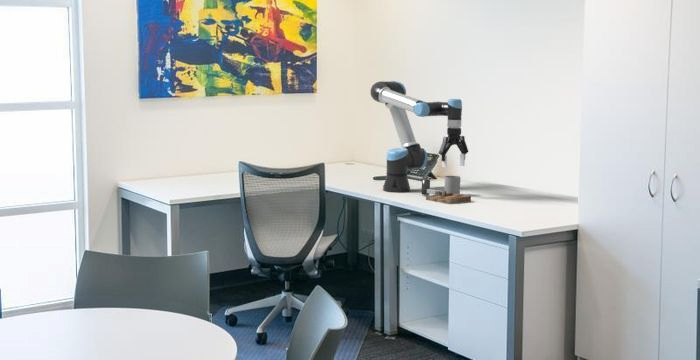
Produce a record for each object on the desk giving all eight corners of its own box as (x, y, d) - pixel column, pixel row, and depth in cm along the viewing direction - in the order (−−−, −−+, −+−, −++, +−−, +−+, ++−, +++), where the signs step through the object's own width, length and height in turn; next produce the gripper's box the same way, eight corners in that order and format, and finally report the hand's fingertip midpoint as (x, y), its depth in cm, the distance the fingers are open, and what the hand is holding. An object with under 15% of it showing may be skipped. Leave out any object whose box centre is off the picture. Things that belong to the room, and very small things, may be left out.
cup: (441, 194, 491) (441, 176, 489) (452, 193, 496) (452, 175, 494) (452, 196, 484) (452, 178, 483) (462, 195, 489) (463, 177, 488)
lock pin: (419, 193, 485) (420, 179, 484) (425, 193, 488) (426, 178, 487) (439, 197, 473) (440, 182, 472) (445, 197, 475) (446, 182, 474)
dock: (426, 199, 471) (426, 192, 471) (447, 197, 481) (448, 189, 481) (448, 204, 458) (448, 196, 458) (470, 201, 468) (470, 193, 467)
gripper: (442, 128, 474) (441, 168, 477) (475, 127, 490) (474, 165, 492) (432, 127, 480) (431, 167, 483) (465, 126, 495) (464, 164, 498)
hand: (453, 166), depth 488 cm, fingers open, 13 cm apart
